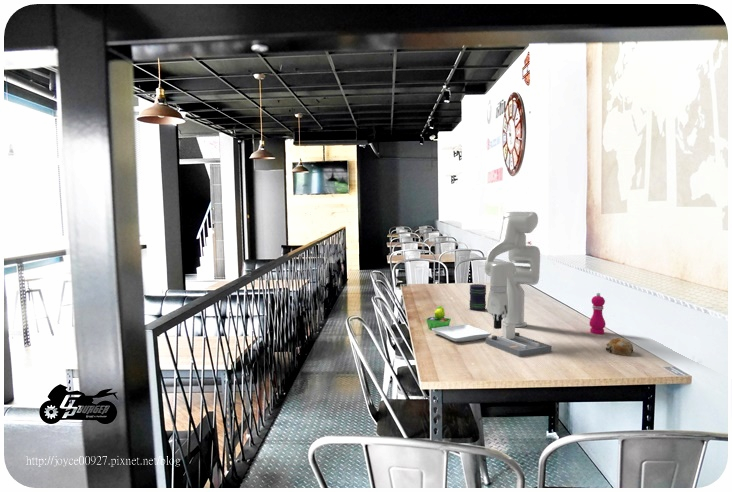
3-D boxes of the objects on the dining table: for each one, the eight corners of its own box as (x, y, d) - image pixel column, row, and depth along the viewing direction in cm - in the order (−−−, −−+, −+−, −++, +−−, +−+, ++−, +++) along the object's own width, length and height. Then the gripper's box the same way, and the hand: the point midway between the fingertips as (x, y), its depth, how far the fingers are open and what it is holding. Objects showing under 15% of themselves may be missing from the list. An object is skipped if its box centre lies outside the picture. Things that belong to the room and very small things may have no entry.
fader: (501, 338, 219) (502, 324, 219) (511, 337, 221) (511, 322, 221) (505, 339, 217) (506, 325, 216) (515, 338, 219) (515, 324, 218)
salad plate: (430, 334, 238) (430, 327, 238) (466, 330, 246) (466, 323, 246) (454, 345, 219) (454, 337, 218) (492, 340, 227) (492, 333, 227)
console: (485, 343, 220) (485, 335, 220) (516, 339, 227) (516, 331, 227) (519, 356, 200) (519, 347, 200) (551, 351, 207) (551, 342, 207)
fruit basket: (425, 329, 247) (425, 307, 246) (431, 325, 255) (431, 304, 254) (446, 331, 242) (446, 309, 241) (452, 327, 250) (452, 306, 249)
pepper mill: (607, 334, 235) (608, 294, 234) (591, 334, 236) (592, 293, 235) (602, 331, 242) (604, 291, 241) (587, 330, 244) (588, 291, 242)
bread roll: (627, 365, 201) (637, 349, 198) (602, 351, 205) (612, 335, 203) (628, 358, 209) (638, 343, 207) (605, 345, 213) (614, 330, 211)
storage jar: (487, 311, 291) (487, 286, 290) (471, 311, 291) (471, 286, 290) (483, 307, 301) (484, 284, 300) (467, 307, 301) (468, 284, 300)
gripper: (481, 287, 229) (481, 325, 230) (502, 292, 216) (501, 332, 217) (494, 287, 232) (493, 324, 233) (515, 291, 219) (514, 331, 220)
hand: (497, 328), depth 225 cm, fingers closed
